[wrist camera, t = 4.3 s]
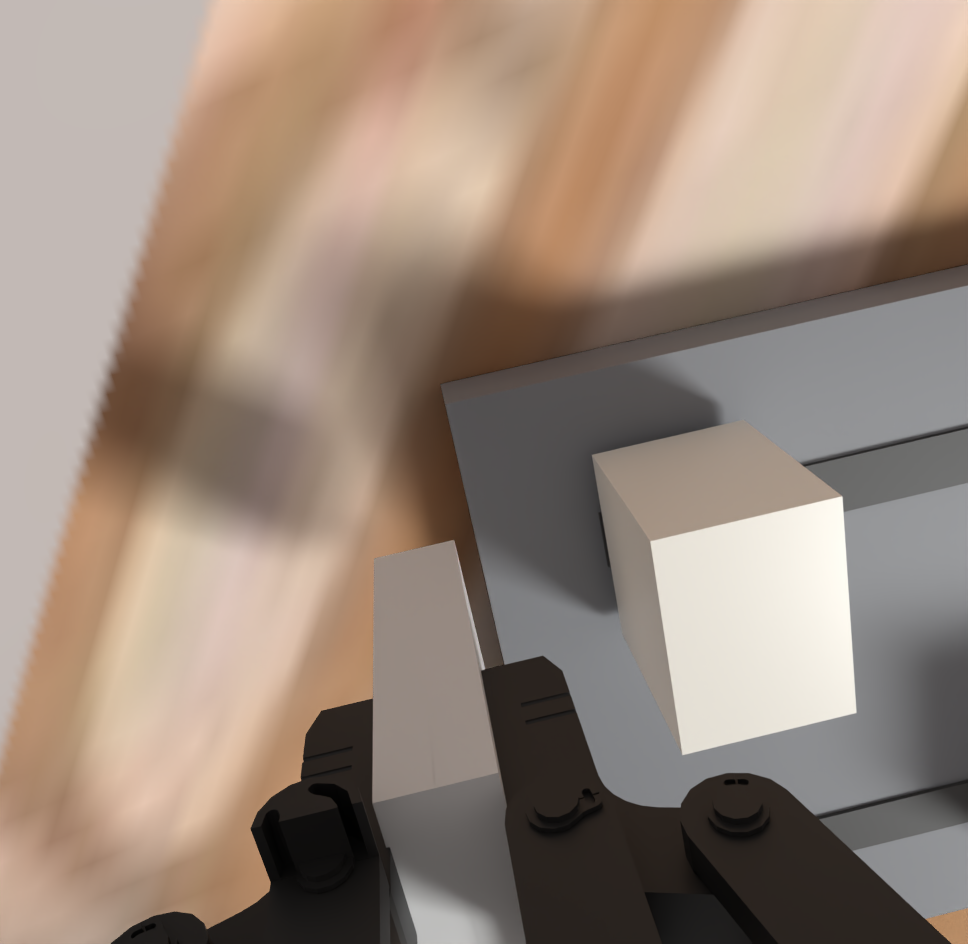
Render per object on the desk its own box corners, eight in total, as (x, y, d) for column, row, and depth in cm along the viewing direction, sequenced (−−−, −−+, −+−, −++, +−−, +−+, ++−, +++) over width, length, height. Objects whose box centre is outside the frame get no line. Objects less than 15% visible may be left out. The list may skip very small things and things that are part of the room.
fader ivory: (622, 633, 19) (682, 755, 15) (592, 454, 18) (650, 541, 14) (762, 599, 19) (856, 713, 15) (743, 419, 18) (842, 496, 14)
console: (571, 960, 24) (584, 1013, 23) (438, 375, 19) (443, 395, 17) (1282, 783, 25) (1338, 824, 24) (1369, 163, 19) (1452, 166, 18)
